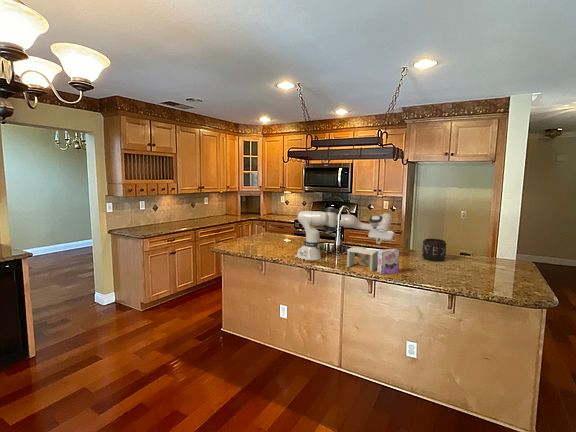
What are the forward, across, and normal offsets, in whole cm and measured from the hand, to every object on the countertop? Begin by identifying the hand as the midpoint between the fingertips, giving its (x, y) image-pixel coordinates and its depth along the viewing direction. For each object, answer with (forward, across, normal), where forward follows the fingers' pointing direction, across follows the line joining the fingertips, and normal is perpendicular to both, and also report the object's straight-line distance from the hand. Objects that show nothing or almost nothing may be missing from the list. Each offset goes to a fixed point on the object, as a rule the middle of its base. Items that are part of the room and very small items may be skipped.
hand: (377, 243), depth 274 cm
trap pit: (+36, 0, +18) cm, 40 cm away
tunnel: (+30, 0, +12) cm, 33 cm away
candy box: (+31, -20, +13) cm, 39 cm away
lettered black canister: (-10, -37, -29) cm, 48 cm away
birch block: (+22, 0, +4) cm, 23 cm away
